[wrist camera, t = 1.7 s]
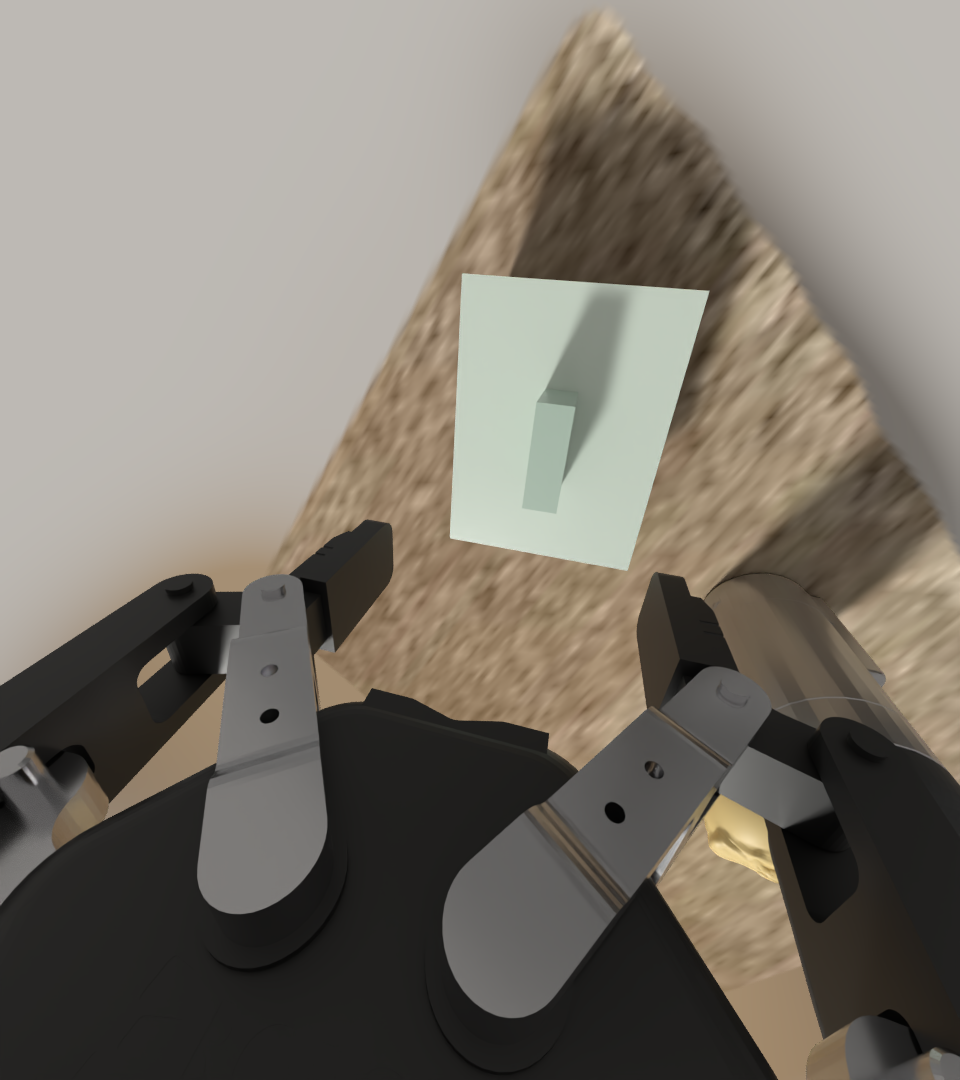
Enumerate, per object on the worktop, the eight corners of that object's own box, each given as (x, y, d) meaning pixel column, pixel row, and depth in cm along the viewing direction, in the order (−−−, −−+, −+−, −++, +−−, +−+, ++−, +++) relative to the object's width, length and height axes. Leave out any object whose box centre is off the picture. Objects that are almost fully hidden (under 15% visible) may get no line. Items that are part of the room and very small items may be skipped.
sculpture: (683, 784, 51) (704, 886, 42) (710, 718, 46) (741, 819, 36) (787, 807, 49) (833, 921, 40) (829, 741, 43) (893, 855, 34)
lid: (702, 292, 23) (738, 283, 17) (625, 559, 31) (633, 612, 26) (469, 276, 25) (433, 262, 20) (455, 529, 34) (428, 571, 28)
